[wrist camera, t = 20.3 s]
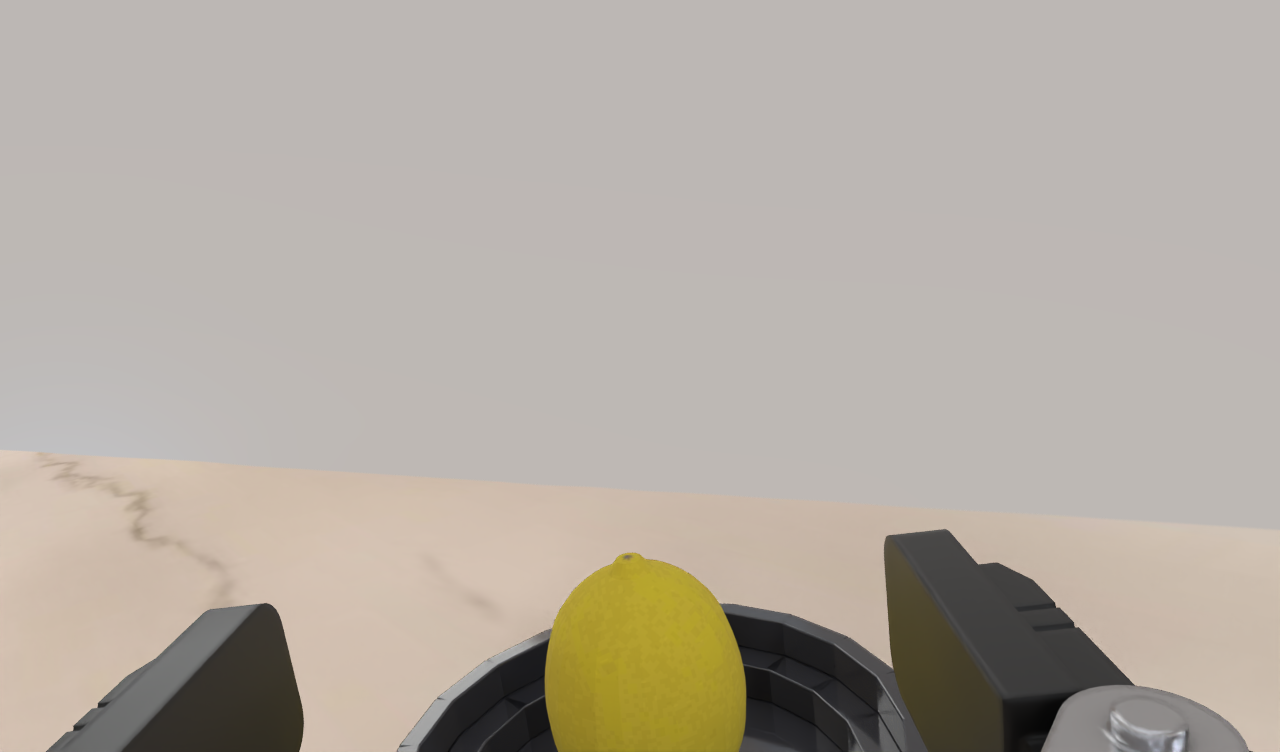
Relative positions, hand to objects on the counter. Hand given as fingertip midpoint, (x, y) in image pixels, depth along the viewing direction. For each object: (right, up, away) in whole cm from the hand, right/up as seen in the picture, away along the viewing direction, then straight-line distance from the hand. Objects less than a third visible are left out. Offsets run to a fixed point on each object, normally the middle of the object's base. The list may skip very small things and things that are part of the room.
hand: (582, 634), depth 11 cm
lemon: (+1, -9, +13) cm, 16 cm away
